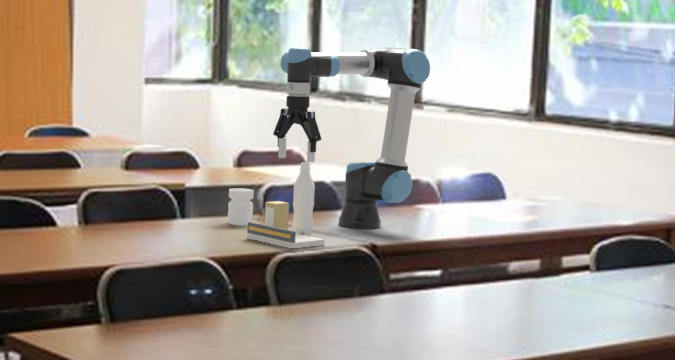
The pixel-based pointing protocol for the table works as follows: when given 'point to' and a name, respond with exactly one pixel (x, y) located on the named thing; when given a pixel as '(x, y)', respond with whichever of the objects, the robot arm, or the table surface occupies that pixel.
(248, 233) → the shelf board
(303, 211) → the water bottle
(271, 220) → the tea box
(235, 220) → the white jar
